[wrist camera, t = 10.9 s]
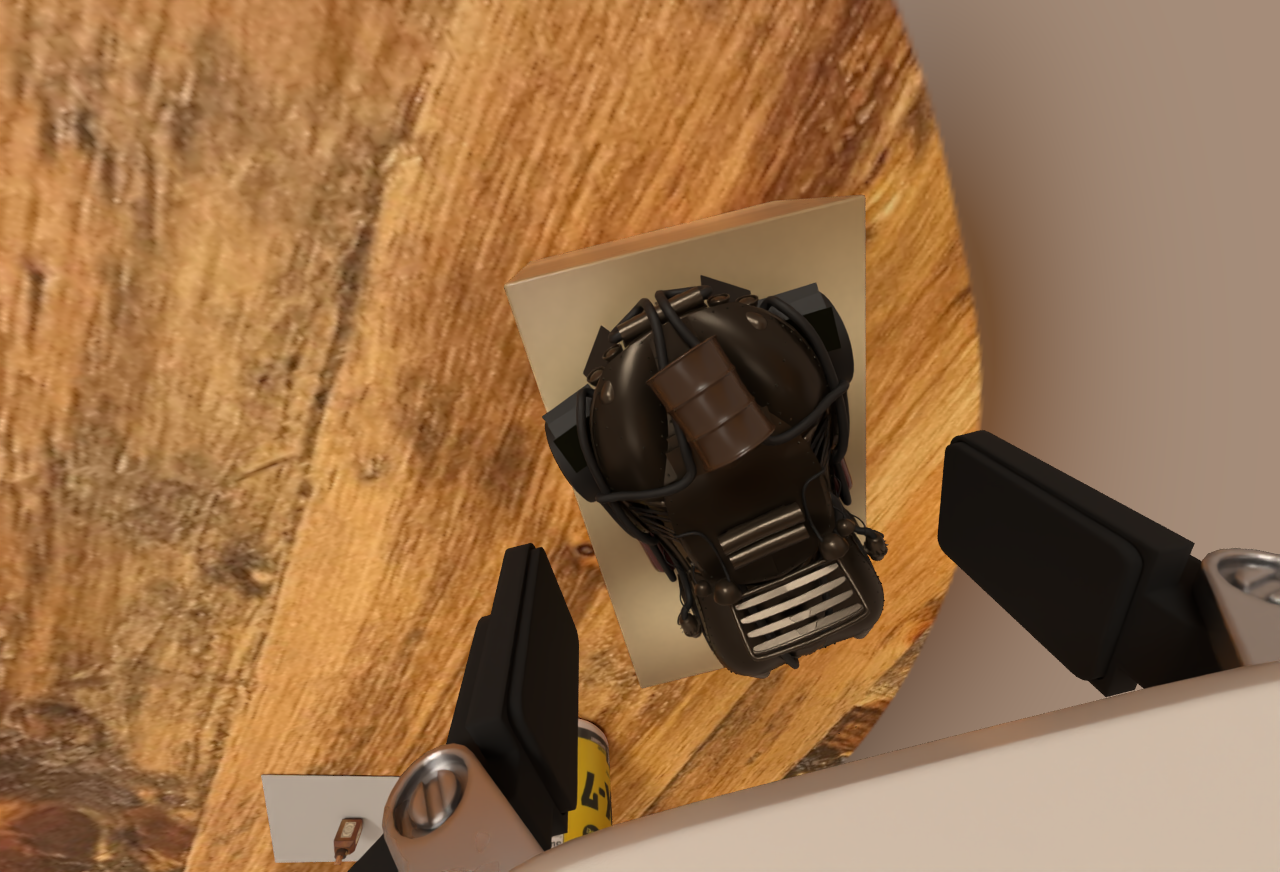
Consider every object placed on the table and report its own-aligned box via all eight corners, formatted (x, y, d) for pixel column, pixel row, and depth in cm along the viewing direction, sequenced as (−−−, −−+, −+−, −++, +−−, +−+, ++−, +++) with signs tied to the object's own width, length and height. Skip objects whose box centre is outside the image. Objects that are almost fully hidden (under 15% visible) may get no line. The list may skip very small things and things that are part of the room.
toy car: (778, 212, 9) (919, 211, 5) (890, 597, 15) (1005, 740, 11) (510, 348, 10) (462, 436, 6) (710, 672, 15) (755, 833, 11)
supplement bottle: (619, 757, 25) (635, 994, 17) (535, 781, 25) (515, 1028, 17) (591, 702, 23) (595, 946, 15) (499, 730, 23) (457, 985, 15)
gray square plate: (429, 859, 27) (419, 902, 25) (275, 862, 25) (253, 908, 24) (437, 777, 24) (425, 820, 22) (261, 774, 22) (234, 820, 21)
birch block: (528, 262, 14) (501, 284, 9) (775, 200, 14) (866, 193, 9) (627, 581, 20) (641, 689, 15) (802, 537, 20) (867, 633, 15)
